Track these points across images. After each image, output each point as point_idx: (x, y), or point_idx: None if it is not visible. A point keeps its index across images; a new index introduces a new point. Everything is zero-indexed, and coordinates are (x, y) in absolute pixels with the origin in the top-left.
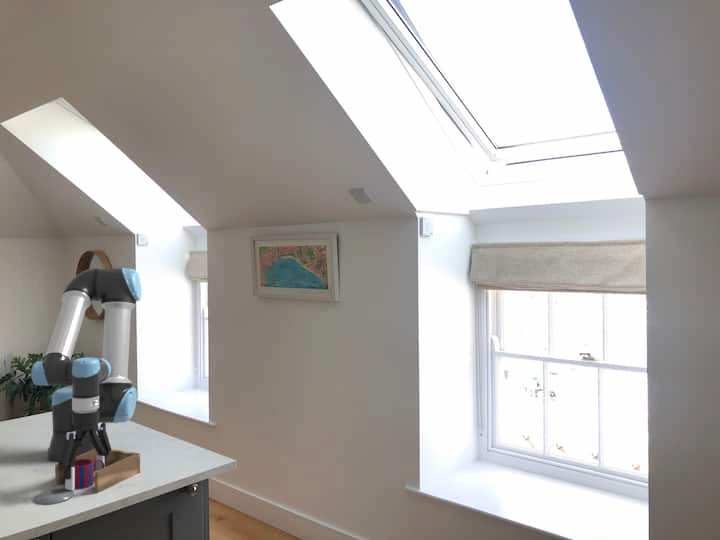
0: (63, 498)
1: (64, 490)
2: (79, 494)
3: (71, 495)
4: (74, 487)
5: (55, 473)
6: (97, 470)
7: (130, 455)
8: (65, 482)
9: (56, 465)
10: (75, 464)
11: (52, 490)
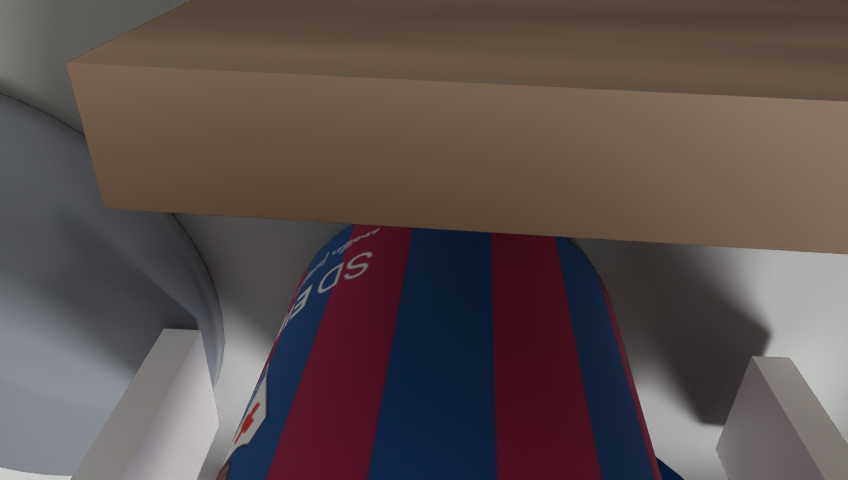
0: (5, 451)
1: (146, 326)
2: (220, 466)
3: None
4: (210, 445)
5: (199, 1)
6: (788, 455)
7: None
8: (122, 397)
9: (86, 130)
10: (487, 472)
11: (39, 180)
